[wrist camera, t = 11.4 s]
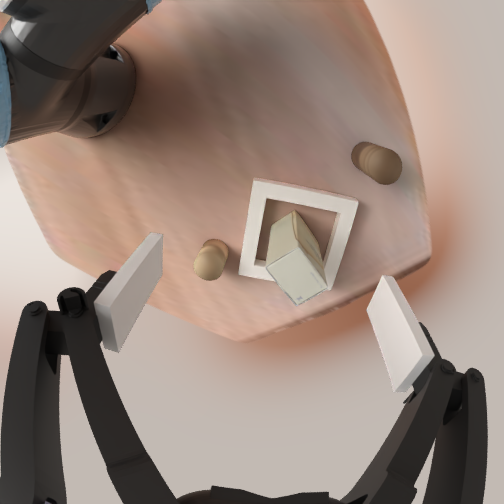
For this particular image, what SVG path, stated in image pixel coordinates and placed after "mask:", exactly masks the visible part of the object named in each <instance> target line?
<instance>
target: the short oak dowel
mask: <svg viewBox="0 0 504 504" xmlns="http://www.w3.org/2000/svg"><path fill="white" fill-rule="evenodd" d="M227 257H228V248H227V246H226V244H225V243H224V242H222V241H220V240H218V239H211V240H208V241H206V242H205V243H204V245H203V247H202V249H201V250H200V252H199V254H198V256H197V258H196V260H195V262H194V271H195V273H196V274H197V275H198V276H199V277H200V278H202V279H204V280H208V281H211V280H216V279H217V278H219V277H220V276H221V274H222V271H223V268H224V266H225V263H226V260H227Z"/></svg>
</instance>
